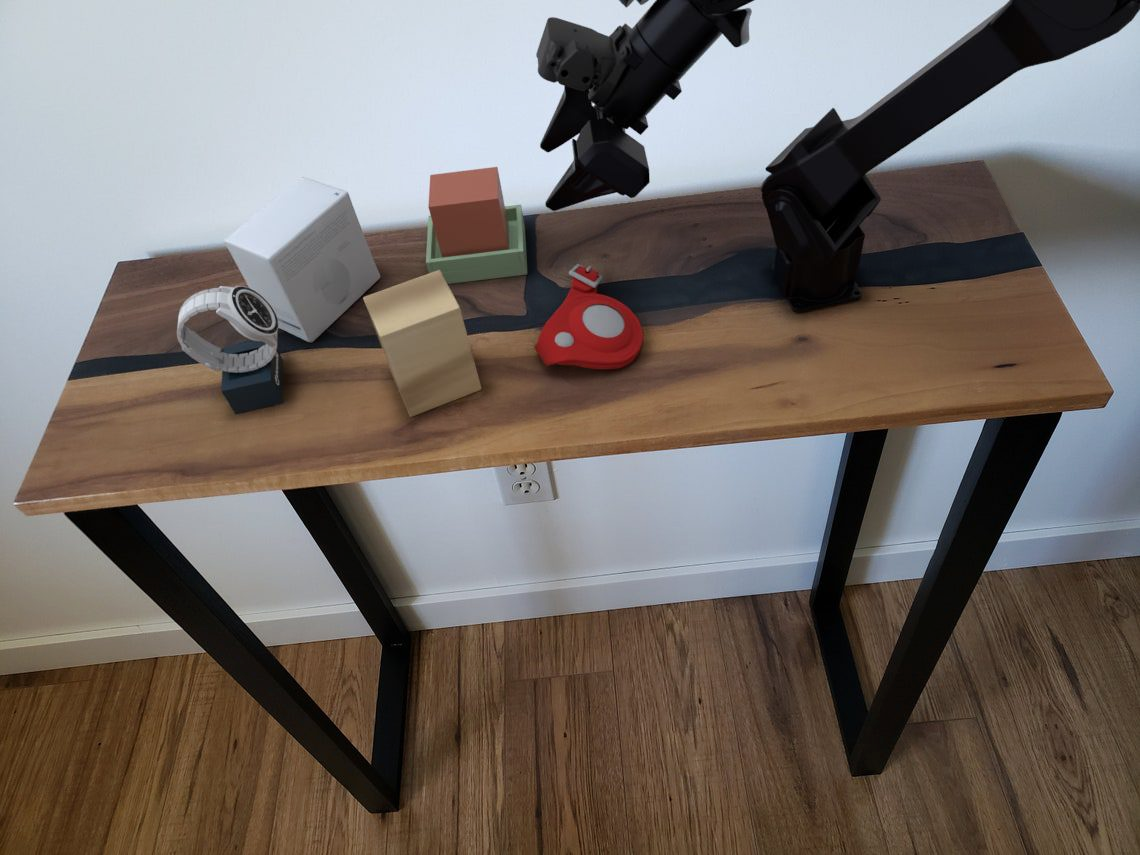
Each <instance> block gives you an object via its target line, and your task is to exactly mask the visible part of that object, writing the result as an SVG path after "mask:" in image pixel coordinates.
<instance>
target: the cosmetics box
mask: <svg viewBox="0 0 1140 855" xmlns="http://www.w3.org/2000/svg"><path fill="white" fill-rule="evenodd" d="M363 231H364V230H363V229H362V226H361V224H360V221H359V218H358V215H357V213H356V210H355V208H354V206H353V202H352V199H351V196H350V194H349V191H347V190H344V189H341V188H338V187H335V186H332V185H330V184H326V183H323V182H321V181H317V180H315V179H311V178H309V177H304V176H302V177H300V178H299V179H298V180H297V181H295V182H294V183H293V184H292V185H291V186H289V187H288V188H287V189H285V190H284V191H283V192H282V193H281V194H280V195H278V196H277V197H276V198H274V199H273V200H272V201H271V202H269V204H267V205H265V206H264V208H262V209H261V210H260V211H259V212H257V213H256V214H255V215H253V216H252V217H250V219H248V220H247V221H246V222H245V223H243V224H242V225H241V226H240V227H238V228H237V229H236V230H234V232H232V233H231V234H230V235H228V236H227V237H226V238H225V239H223V242H224V245H225V246H226V248H227V249H228V251H229V254H230V255H231V257H232V259H233V261H234V262H235V264H236V266H237V268H238V270H239V273H241V275H242V277H243V279H244V281H245V283H246V285H247V287H248V288H250V289H253V290H254V291H256V292H257V293H259V294H260V295H261V296H262V297H263V298H265V299H266V300H267V302H268V303H269V304H270V305H271V307H272V308H273V310H274V311H275V313H276V316H277V318H278V324H279V327H278V329H280V330H282V331H285V332H287V333H289V334H291V335H293V336H294V337H296V338H300V339H301V340H303V341H305V342H307V343H313V342H314V341H316V340H317V339H318V338H319V337H320V336H321V335H322V334H323V333H324V332H325V331H326V330H327V329H328V328H330V327H331V325H333V324H334V322H335V321H337V320H338V319H339V318H340V317H341V316H342V315H343V314H344V313H345V312H346V311H347V310H348V309H349V308H350V307H351V306H352V305H354V304H355V302H357V301H358V300H359V299H360V298H361V297H362V296H363V295H364V294H365V293H366V292H367V291H368V290H369V289H370V288H371V287H372V286H373V285H374V284H376V283H377V282H378V281H379V280H380V279H381V274H380V272H379V269H378V267H377V264H376V262H375V260H374V256H373V255H372V252H371V249H370V247H369V244H368V241H367V239H366V237H365V234H364V232H363Z"/></svg>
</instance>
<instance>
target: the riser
mask: <svg viewBox="0 0 1140 855" xmlns="http://www.w3.org/2000/svg"><path fill="white" fill-rule="evenodd" d="M362 299H363V302H364V305H365V307H366V310H367V312H368V316H369V318H370V321H371V323H372V325H373V326H372V327H373V329H374V331H375V334H376V336H377V338H378V341H379V344H380V346H381V349H382V352H383V355H384V357H385V360H386V362H387V365H388V368H389V370H390V372H391V376H392V378H393V380H394V382H395V385H396V388H397V389H398V392H399V394H400V397H401V399H402V401H403V404H404V406H405V408H406V411H407V413H408V416H409V418H413V417H416V416H418V415H421V414H422V413H425V412H427V411H431V410H433V409H436V408H438V407H440V406H443V405H446V404H449V403H451V402H453V401H457V400H459V399H461V398H464V397H467V396H469V395H472V394H475V393H477V392H479V391H482V388H483V387H482V386H481V385H482V384H481V381H480V377H479V374H478V369H477V367H476V366H477V365H476V362H475V359H474V355H473V352H472V347H471V344H470V339H469V337H468V332H467V328H466V325H465V322H464V318H463V313H462V310H461V307H460V304H459V303H458V300H457V299H456V297H455V296H454V293H453V291H452V290H451V288H450V286H449V284H447V282H446V281H445V279H444V277H443V275H442V273H441V271H440V270H437V271H435V272H432V273H429V272H428V273H426V274H424V275H420V276H418V277H415V278H413V279H409V280H407V281H404V282H401V283H398V284H396V285H393V286H390V287H387V288H385V289H382V290H379V291H377V292H374V293H371V294H368V295H366V296H363V298H362Z"/></svg>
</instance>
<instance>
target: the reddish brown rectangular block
mask: <svg viewBox="0 0 1140 855" xmlns="http://www.w3.org/2000/svg"><path fill="white" fill-rule="evenodd" d="M505 206H506V205H505V199H504V194H503V190H502V184H501V178H500V173H499V168H498V166H493V167H484V168H483V167H482V168H476V169H468V170H458V171H451V172H444V173H435V174H430V175H429V190H428V210H429V216H431V218H432V222H433V226H434V229H435V233H436V237H437V241H438V244H439V248H440V252H441V255H442V258H443V257H451V256H460V255H468V254H476V253H485V252H493V251H501V250H509V228H508V220H507V215H506V210H505Z"/></svg>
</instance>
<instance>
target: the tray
mask: <svg viewBox="0 0 1140 855" xmlns="http://www.w3.org/2000/svg"><path fill="white" fill-rule="evenodd" d="M522 208H523V207H522V204H513V205H505V210H506V215H507V220H508V228H509V250H501V251H493V252H485V253H476V254H468V255H460V256H451V257H443V258H442V255H441V252H440V248H439V244H438V241H437V237H436V233H435V229H434V226H433V222H432V218H431V215H428V216H427V217H428V218H427V233H426V251H425V252H426V253H425V265H426V270H427V272H428V274H429V273H432V272H435V271H437V270H440V271H441V273H442V275H443V277H444V279H445V281H446V282H447V284H448V285H452V284H459V283H466V282H467V283H469V282H476V281H484V280H492V279H493V280H494V279H500V278H508V277H519V276H525V275H526V276H527V275H528V273H529V272H528V258H527V256H528V255H527V241H526V240H527V238H526V225H525V219H524V213H523V209H522Z"/></svg>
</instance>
